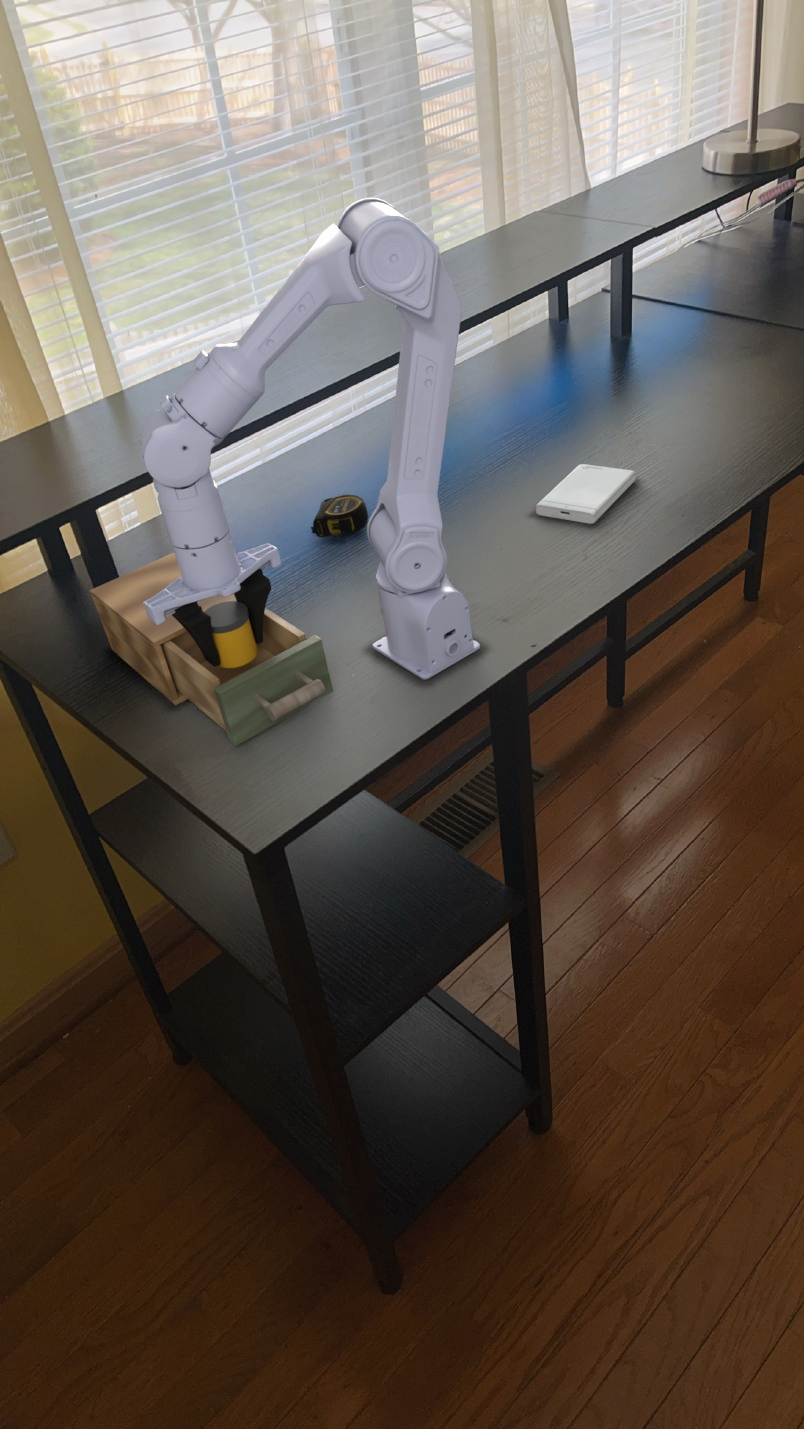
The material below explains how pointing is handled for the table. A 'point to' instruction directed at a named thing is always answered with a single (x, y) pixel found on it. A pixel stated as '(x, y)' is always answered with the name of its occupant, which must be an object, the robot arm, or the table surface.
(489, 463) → the table surface
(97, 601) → the cabinet
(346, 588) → the table surface
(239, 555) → the robot arm
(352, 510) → the tape measure
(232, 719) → the drawer
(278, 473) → the table surface
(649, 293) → the table surface
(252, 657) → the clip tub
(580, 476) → the hard drive
